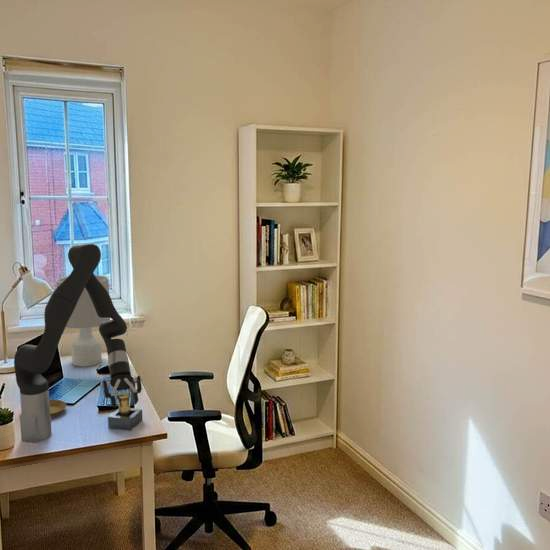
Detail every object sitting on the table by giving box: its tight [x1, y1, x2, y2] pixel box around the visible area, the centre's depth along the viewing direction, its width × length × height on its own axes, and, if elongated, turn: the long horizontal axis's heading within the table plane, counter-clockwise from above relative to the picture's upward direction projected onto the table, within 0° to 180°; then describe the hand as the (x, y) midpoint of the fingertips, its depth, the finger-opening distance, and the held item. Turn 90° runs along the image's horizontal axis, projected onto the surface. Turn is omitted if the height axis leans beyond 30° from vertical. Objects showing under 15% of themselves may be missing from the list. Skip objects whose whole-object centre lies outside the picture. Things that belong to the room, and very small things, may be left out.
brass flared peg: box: [115, 392, 131, 417], centre depth 200 cm, size 5×5×11 cm
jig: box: [107, 407, 143, 432], centre depth 200 cm, size 9×9×4 cm
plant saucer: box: [49, 399, 67, 418], centre depth 210 cm, size 15×15×3 cm
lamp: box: [55, 274, 111, 368], centre depth 266 cm, size 24×24×42 cm
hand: (125, 405), depth 198 cm, fingers open, 7 cm apart
